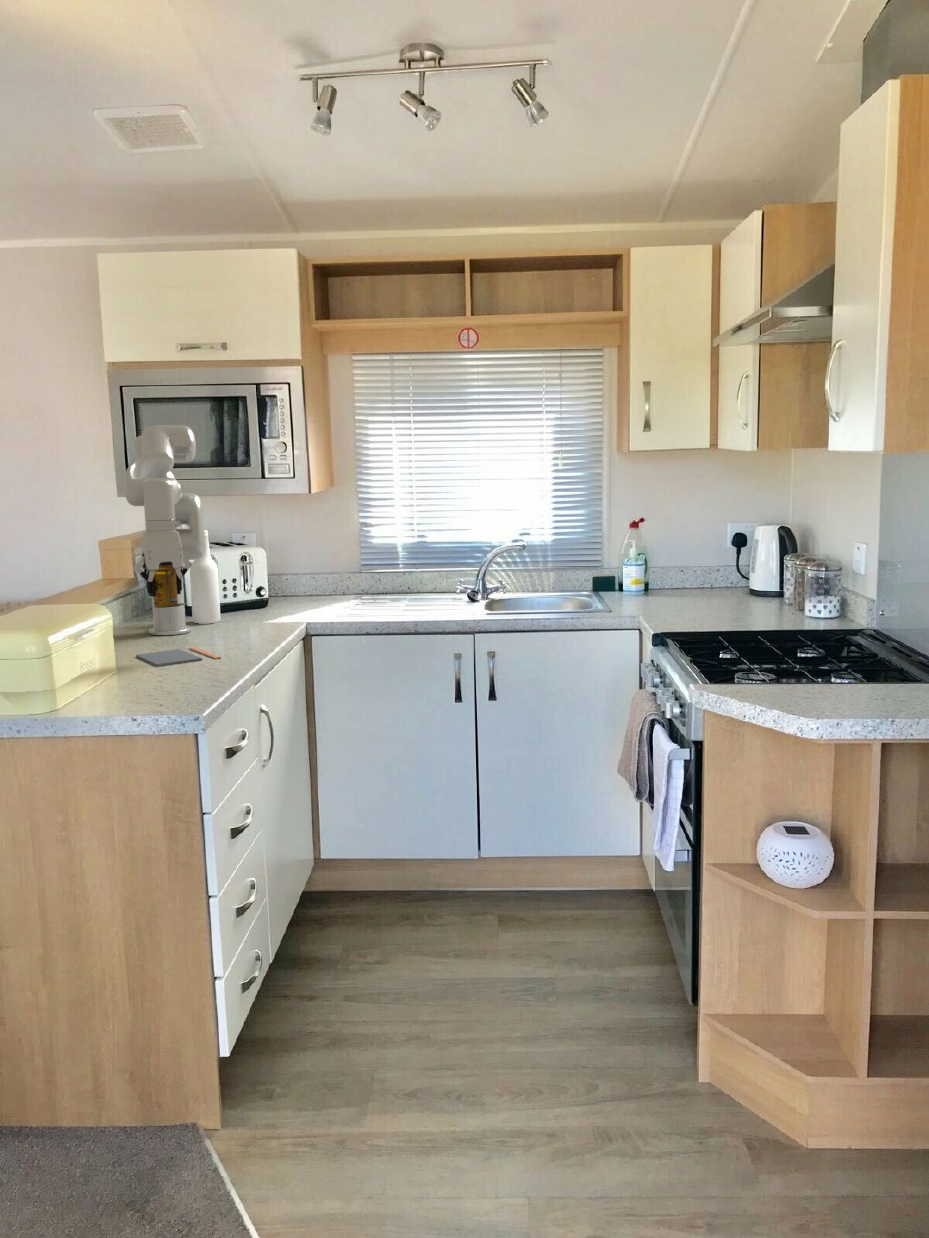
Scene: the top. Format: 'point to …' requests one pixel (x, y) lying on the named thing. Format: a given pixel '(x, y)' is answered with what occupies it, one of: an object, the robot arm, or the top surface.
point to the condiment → (166, 587)
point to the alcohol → (205, 588)
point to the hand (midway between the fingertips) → (164, 594)
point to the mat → (168, 657)
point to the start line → (205, 653)
